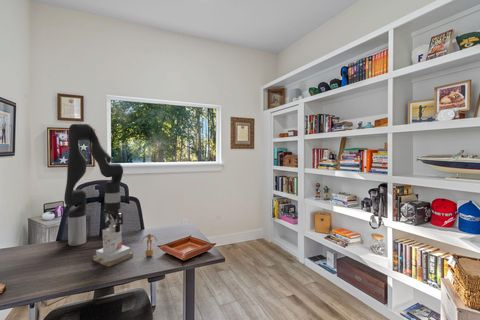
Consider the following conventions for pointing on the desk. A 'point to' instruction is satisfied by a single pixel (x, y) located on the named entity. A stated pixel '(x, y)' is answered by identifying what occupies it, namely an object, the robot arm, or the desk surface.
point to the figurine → (150, 251)
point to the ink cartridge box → (111, 238)
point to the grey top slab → (113, 253)
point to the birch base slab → (113, 260)
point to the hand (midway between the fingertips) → (113, 230)
